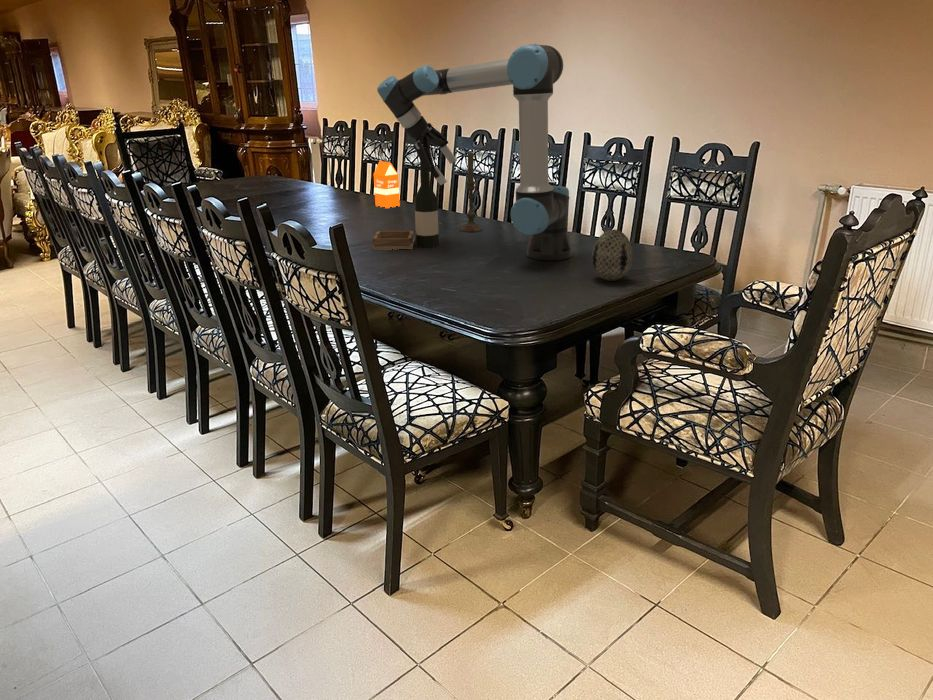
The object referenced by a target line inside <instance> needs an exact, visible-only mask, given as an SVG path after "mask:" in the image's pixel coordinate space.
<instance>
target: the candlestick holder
mask: <svg viewBox="0 0 933 700" xmlns="http://www.w3.org/2000/svg"><path fill="white" fill-rule="evenodd" d="M474 170H475V169H474V152H471V151H469V152H467V181H465V184H466V190H467V191H468V197H467V198H468V207H469V209H468V212H466V217H467V219H468V222H467V223H465V224H463V225H462V226H461V227H460V228H459V231H460V232H462V231H463V233H479V231H480V232H482V231H484V229H483V227H482V226H480V225H479V224H478V223H476V222H475V220H474V219H475V218H476V212H474V198H475V197H474V190H476V186H475V185H476V183H477V181H475V180H474V174H475V173H474Z"/></svg>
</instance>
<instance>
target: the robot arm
mask: <svg viewBox="0 0 933 700" xmlns="http://www.w3.org/2000/svg"><path fill="white" fill-rule="evenodd" d="M563 71H564V60H563V56H562V54H561V53H560V52H559V51H558V50H557V49H556V48H555V47H553V46H551V45H546V44H536V43H535V44H534V43H528V44H524V45H521V46H519V47H517V48H516V49H515V50H514V51H513V52H512V53H511V55H510V56H509V58H507V59H500V60H494V61H488V62H481V63H475V64H470V65H469V64H468V65H462V66H456V67H455V66H454V67H450V68H444V69H434V68H433V67H432V66H430V65H429V64H424V65H423V66H421V67H418V68H416V69H415V70H414V71H412V72H411V73H409V74H408V75H406V76H404V77H402V78H400V79H398V78H397V77H396V76H394V75H391V76H388V77H387V78H385V79H384V80H383V81H382V82H381V83H380V84H379V85H378V86H377V88H376V91H377V93H378V95H379V97H381V99H382V102H383V103H384V104H385V105H386V106H387V108H388V109H389V110H390V112H391V113H392V114H393V115H394V118H395V119H396V120H397V121H398V122H399V125H401V127H402V128H404V131H405V132H406V134H407V135H408V137H409V138H410V139H414V140H415V142H416V143H414V144H413V145H412V146H413V148H414V150H415V151H416V154H417V156H418V158H419V160H420V161H421V164H422V166H423V168H424V171H425V172H428V171H430V175H432V177H434V179H435V180H436V182H437V183H438V184H439V186H443V185H444V184H446V183H447V182H448V180H447V179H446V178H445V176H444V175H443V173H442V172H441V171H440V169H439V168H438V167H437V166H435V162H434V160H433V156H432V152H431V144H433V145H435V146H437V147H439V148H440V149H439V150H440V151H441V153H442V154H443V156H444V157H445V158H446V160H447V161H448V162H449V164H453V163H455V162H457V160H458V159H457V157H456V156H455V155H454V154H453V152H452V151H451V149H450V148H449V147H448V144H449V141H448V139H447V137H446V136H445V135H444V134H442V133H441V132H440V131H439V130H437V128H435V127H434V126H433V125H432V124H431V122H428V121H426V119H425V117H424V116H423V115H422V112H421V111H420V110H419V109H418V107H417V106H416V105H415V103H414V101H416V100H417V99H419V98H421V97H424V96H434V95H435V96H436V95H447V94H453V93H457V92H459V93H460V92H465V91H473V90H474V91H475V90H482V89H483V90H484V89H488V88H497V87H503V86H504V87H505V86H511V85H512V88H513V89H512V92H513V93H512V94H513V97H514V98H515V100H517V101H518V131H519V134H518V137H519V139H518V140H519V179H520V180H519V181H520V183H519V185H518V186H517V187H516V188H515V202H514V203H513V204H512V207H511V209H510V219H511V222H512V224H513V226H514V227H515V229H517V231H519V232H520V233H522V234H524V235H529V236H530V239H529V241H528V244H527V247H526V256H527V257H528V258H531V259H533V260H536V261H537V260H538V261H550V262H551V261H560V260H561V261H562V260H566V259H570V258H571V257H572V256H573V248H572V247H573V246H572V244H571V241H570V237H569V234H568V227H569V210H570V209H569V207H570V206H569V205H570V191H569V188H568V187H567V186H561V185H551V184H550V183H549V99H550V98H551V97H552V96H553V95H554V84H555V83H556V82H558V80H559V79H560V78H561V76H562V75H563V74H562V73H563ZM420 161H419V162H420Z"/></svg>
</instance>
